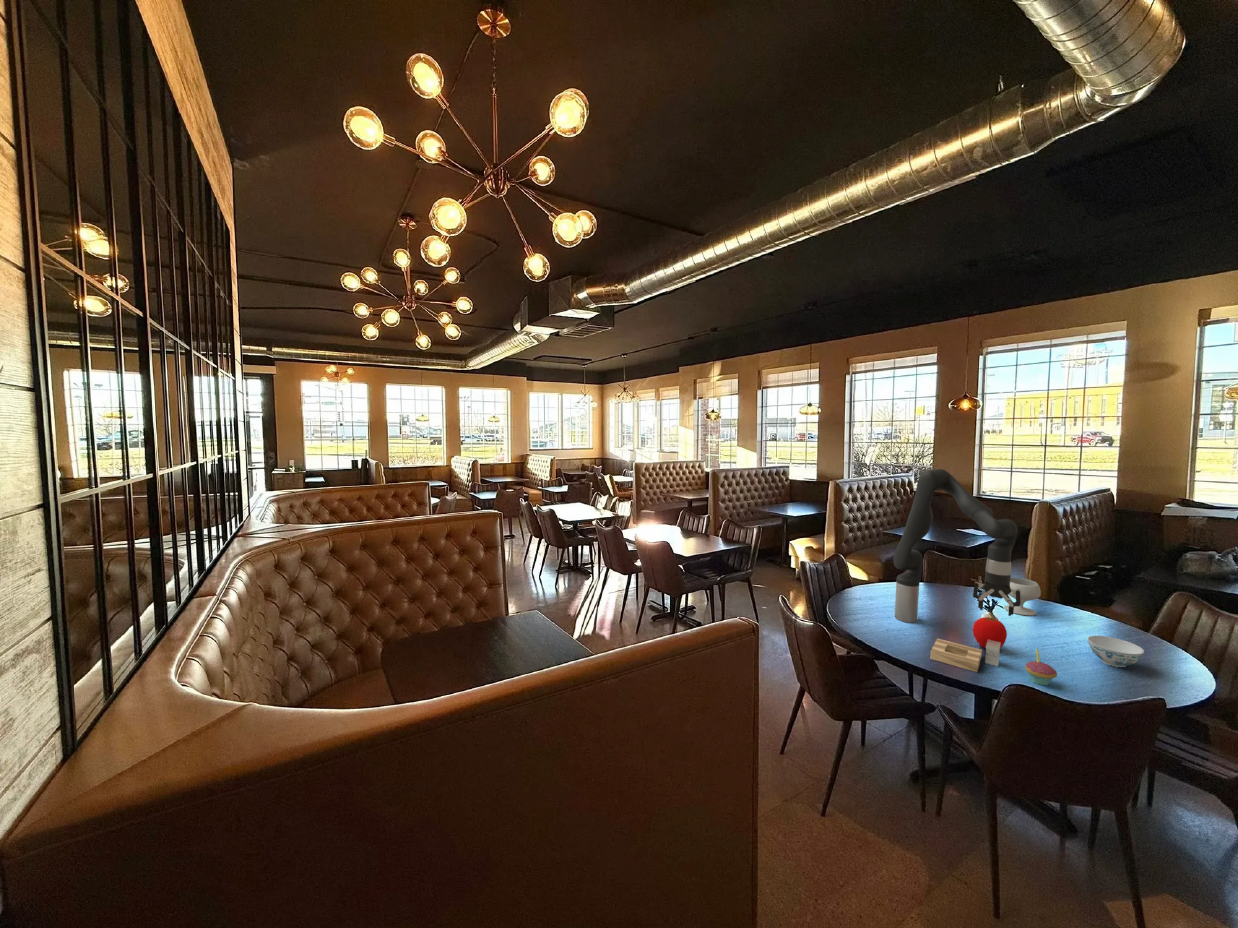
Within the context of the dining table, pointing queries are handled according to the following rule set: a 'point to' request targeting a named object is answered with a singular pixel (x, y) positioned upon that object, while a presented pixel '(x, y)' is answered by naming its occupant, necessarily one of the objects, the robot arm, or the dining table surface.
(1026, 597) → the chalice
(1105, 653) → the chinaware
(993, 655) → the grey stepped wood block
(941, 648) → the well block
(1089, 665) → the dining table surface
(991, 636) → the tomato
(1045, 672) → the cupcake
